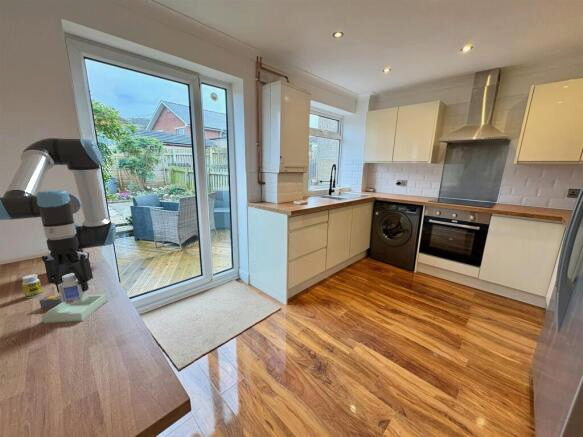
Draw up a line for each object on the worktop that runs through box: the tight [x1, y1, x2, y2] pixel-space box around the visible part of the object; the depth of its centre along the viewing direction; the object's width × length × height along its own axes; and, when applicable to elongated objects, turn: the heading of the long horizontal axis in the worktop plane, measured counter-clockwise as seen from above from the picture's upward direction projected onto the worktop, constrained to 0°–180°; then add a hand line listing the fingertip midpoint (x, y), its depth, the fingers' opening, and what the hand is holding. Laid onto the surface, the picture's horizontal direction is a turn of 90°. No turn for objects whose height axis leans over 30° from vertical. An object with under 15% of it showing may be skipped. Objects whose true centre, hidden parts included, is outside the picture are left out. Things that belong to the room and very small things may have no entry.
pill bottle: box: [61, 273, 80, 304], centre depth 83 cm, size 5×5×10 cm
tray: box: [41, 293, 108, 324], centre depth 84 cm, size 12×12×3 cm
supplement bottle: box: [21, 274, 43, 299], centre depth 96 cm, size 5×5×8 cm
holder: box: [39, 294, 62, 310], centre depth 92 cm, size 12×7×4 cm, turn 4°
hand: (75, 299), depth 84 cm, fingers closed on pill bottle, 5 cm apart
